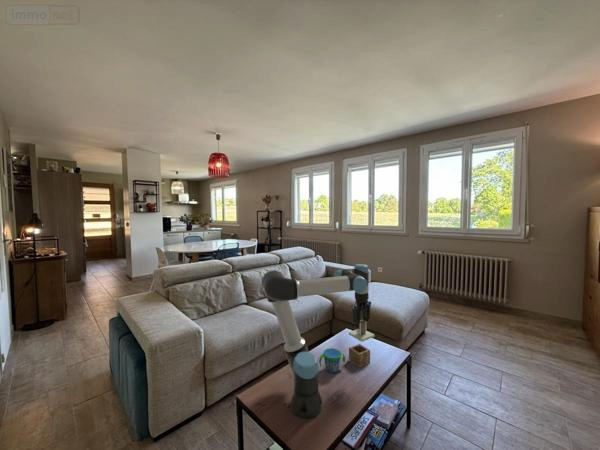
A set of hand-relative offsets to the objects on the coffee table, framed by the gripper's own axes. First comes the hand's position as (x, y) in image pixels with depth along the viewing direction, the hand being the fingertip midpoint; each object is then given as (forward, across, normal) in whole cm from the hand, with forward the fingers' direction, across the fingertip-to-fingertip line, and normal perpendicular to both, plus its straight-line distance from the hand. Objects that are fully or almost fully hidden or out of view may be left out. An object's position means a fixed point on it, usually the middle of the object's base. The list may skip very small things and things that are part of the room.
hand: (361, 332), depth 142 cm
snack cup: (+25, -11, +13) cm, 30 cm away
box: (+24, +8, +10) cm, 27 cm away
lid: (+2, 0, 0) cm, 2 cm away
